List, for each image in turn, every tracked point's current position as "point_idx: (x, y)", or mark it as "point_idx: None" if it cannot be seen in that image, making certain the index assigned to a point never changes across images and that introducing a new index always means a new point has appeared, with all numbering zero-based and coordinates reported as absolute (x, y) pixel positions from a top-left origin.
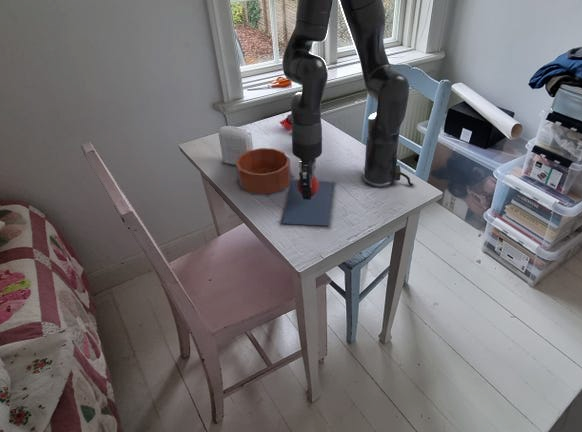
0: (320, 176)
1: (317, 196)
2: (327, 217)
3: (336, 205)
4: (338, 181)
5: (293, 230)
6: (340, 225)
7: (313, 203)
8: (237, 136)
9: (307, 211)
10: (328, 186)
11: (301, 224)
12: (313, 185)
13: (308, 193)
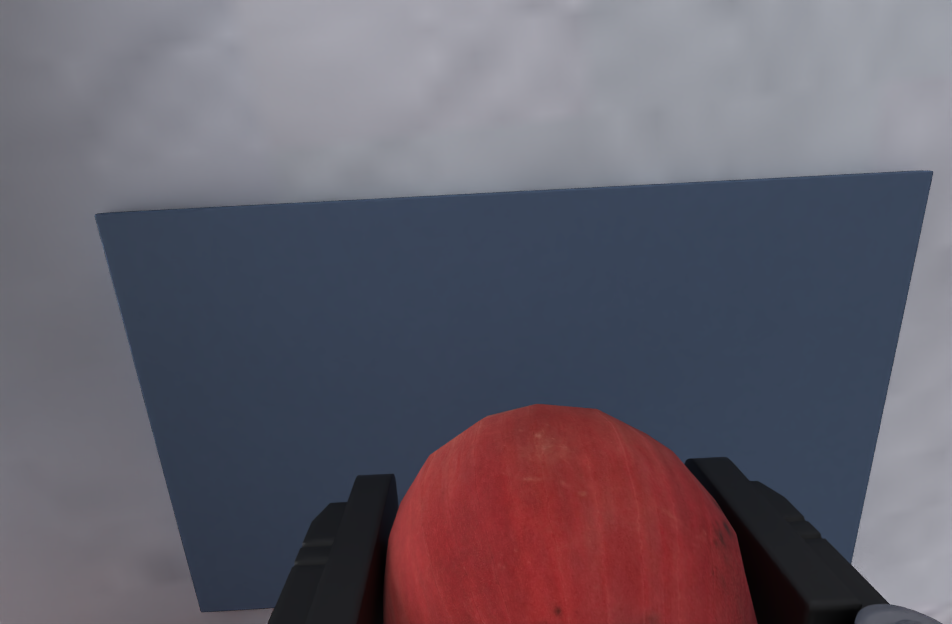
0: (5, 373)
1: (422, 351)
2: (796, 192)
3: (541, 114)
4: (23, 142)
5: (928, 469)
6: (915, 23)
7: (554, 373)
8: None
9: (690, 407)
10: (195, 256)
11: (874, 424)
12: (714, 560)
13: (839, 562)
